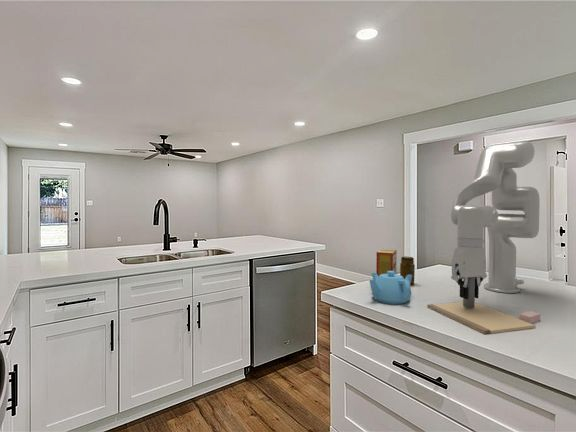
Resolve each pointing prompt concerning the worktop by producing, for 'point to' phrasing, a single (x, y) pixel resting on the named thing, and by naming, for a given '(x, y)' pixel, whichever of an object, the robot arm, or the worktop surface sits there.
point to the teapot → (391, 288)
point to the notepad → (481, 318)
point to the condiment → (408, 268)
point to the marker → (470, 294)
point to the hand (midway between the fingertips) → (468, 297)
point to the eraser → (530, 317)
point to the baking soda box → (386, 261)
